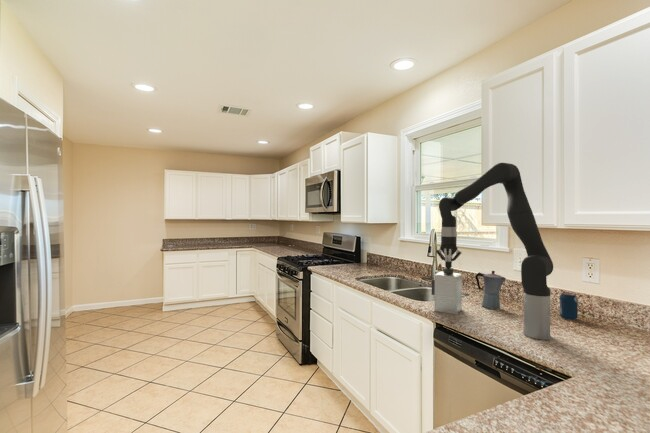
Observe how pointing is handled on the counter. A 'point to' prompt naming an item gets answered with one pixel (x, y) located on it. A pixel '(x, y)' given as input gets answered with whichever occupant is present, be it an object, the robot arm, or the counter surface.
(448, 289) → the grey block
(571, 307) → the soda can
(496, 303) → the moka pot
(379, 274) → the counter surface
